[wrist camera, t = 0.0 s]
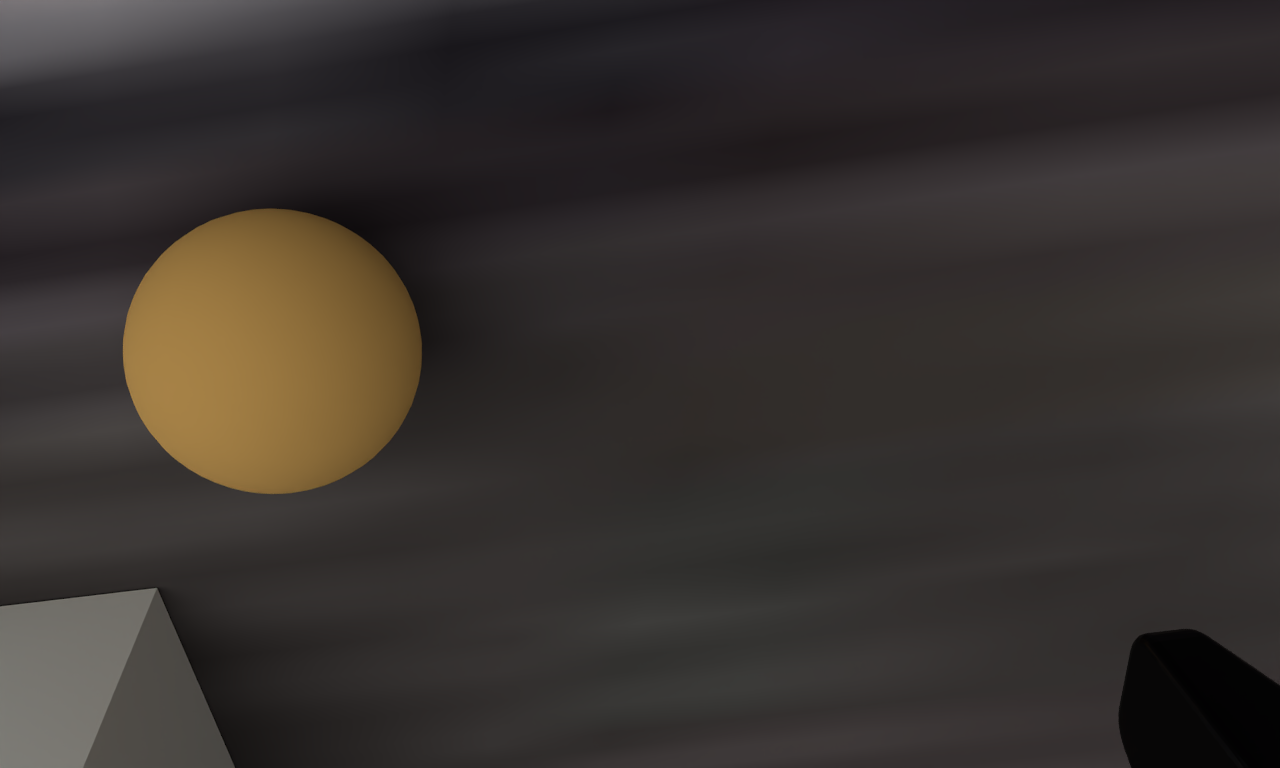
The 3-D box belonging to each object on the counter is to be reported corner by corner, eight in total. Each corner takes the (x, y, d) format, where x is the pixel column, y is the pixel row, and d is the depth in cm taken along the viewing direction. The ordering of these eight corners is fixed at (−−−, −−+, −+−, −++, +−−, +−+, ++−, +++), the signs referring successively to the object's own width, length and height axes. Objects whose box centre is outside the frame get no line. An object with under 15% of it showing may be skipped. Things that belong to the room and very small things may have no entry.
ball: (453, 378, 24) (434, 534, 20) (212, 406, 24) (141, 569, 19) (404, 149, 21) (369, 274, 17) (132, 181, 21) (29, 314, 17)
